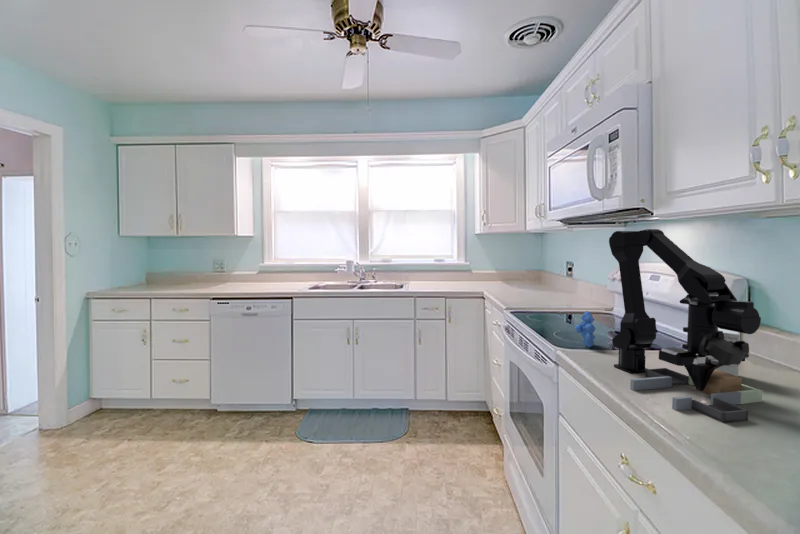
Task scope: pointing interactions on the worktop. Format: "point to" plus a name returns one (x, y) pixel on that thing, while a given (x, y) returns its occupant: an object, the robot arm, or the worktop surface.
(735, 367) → the supplement box
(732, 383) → the walnut block
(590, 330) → the grapes
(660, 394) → the worktop surface
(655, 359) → the worktop surface
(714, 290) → the robot arm
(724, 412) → the box
